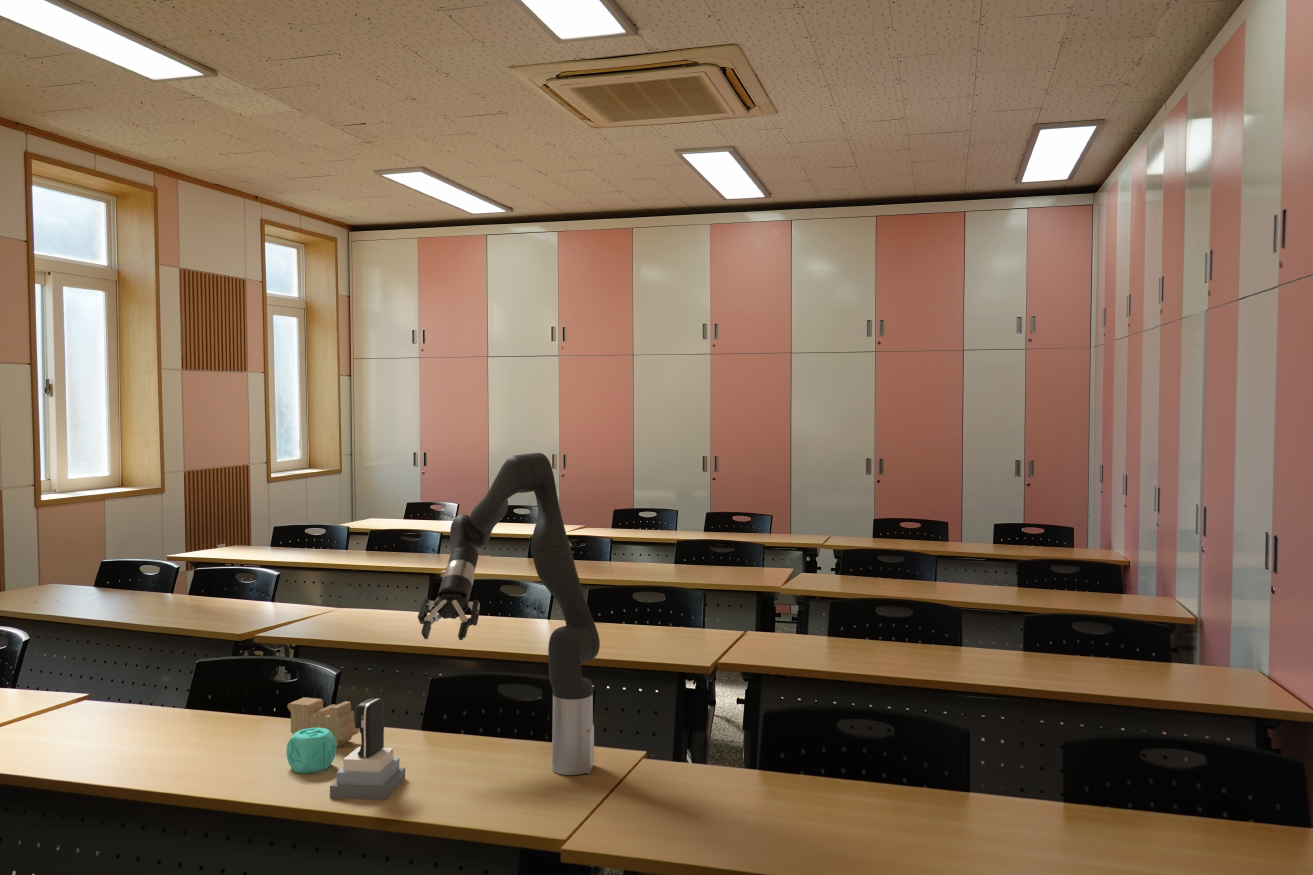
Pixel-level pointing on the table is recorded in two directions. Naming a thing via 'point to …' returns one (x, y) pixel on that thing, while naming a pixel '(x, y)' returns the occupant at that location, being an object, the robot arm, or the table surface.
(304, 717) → the toy train
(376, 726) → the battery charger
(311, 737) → the decorative dice
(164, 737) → the table surface
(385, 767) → the block tower
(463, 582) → the robot arm
